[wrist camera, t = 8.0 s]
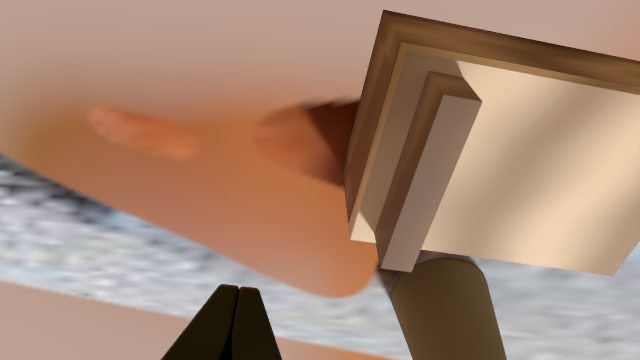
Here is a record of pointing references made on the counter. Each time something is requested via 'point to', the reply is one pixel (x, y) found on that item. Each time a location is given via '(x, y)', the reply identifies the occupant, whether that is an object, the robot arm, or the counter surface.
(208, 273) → the counter surface
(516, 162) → the lid
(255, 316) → the robot arm
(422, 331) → the brown bottle
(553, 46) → the toolbox
